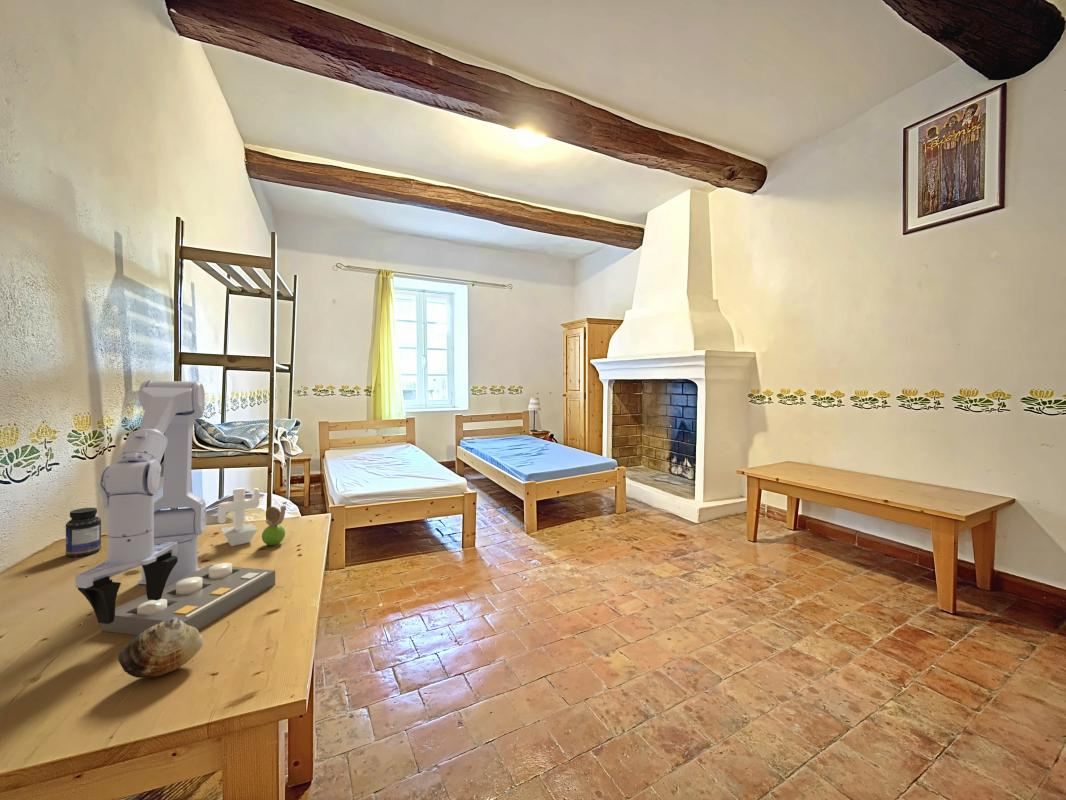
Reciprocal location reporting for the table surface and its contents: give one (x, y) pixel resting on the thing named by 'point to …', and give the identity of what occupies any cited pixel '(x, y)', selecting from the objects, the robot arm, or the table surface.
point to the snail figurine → (274, 526)
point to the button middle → (188, 586)
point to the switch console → (195, 601)
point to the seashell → (160, 649)
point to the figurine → (239, 516)
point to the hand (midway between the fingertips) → (131, 610)
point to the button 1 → (151, 607)
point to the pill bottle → (83, 533)
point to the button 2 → (220, 571)
